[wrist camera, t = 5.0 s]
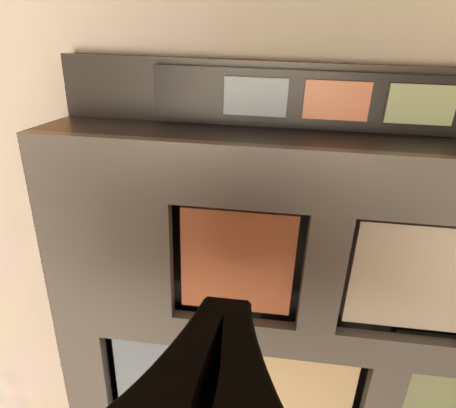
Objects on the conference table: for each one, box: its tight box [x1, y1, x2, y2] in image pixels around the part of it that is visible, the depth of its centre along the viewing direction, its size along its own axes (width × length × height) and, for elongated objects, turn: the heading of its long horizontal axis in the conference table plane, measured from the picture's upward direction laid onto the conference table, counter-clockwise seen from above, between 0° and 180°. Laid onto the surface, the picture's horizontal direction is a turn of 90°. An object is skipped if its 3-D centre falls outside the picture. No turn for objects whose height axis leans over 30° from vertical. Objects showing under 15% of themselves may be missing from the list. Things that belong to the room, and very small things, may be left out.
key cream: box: [339, 219, 456, 333], centre depth 14 cm, size 4×4×2 cm
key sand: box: [263, 356, 361, 408], centre depth 17 cm, size 4×4×2 cm
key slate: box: [112, 339, 169, 397], centre depth 18 cm, size 4×4×2 cm
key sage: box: [396, 329, 456, 408], centre depth 17 cm, size 4×4×2 cm
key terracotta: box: [180, 206, 300, 316], centre depth 15 cm, size 4×4×2 cm
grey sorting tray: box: [17, 53, 456, 408], centre depth 16 cm, size 22×18×4 cm
